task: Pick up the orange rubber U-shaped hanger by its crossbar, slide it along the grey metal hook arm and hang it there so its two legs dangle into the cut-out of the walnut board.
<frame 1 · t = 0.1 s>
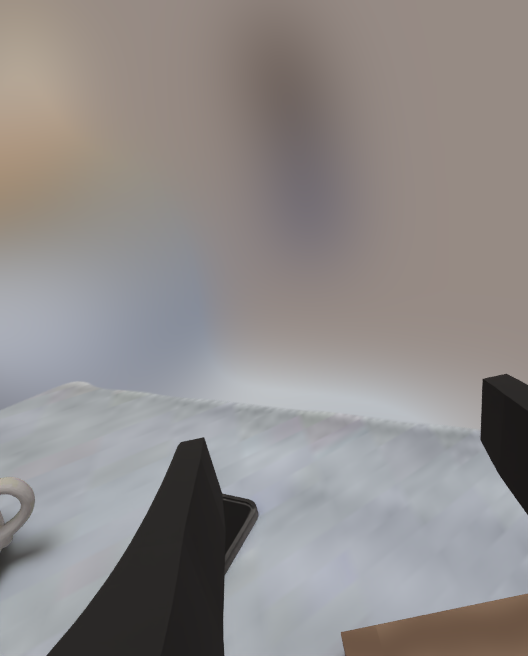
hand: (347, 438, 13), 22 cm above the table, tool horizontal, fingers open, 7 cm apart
phone: (174, 579, 37), on the table
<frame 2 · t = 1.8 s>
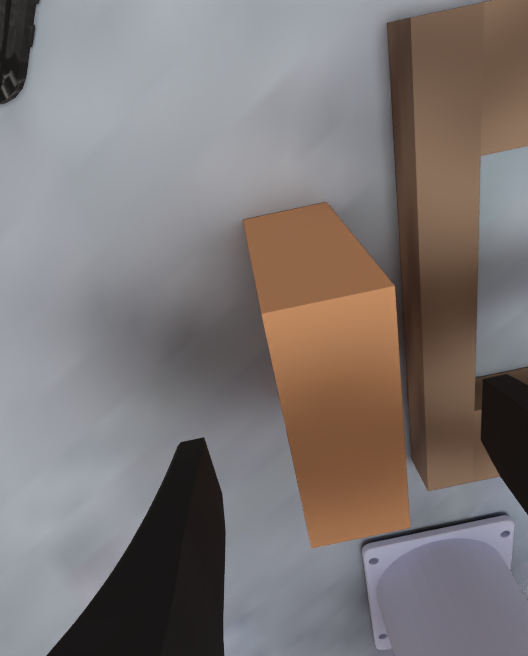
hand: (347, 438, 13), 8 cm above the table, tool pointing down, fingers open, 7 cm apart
hanger: (301, 310, 19), on the table
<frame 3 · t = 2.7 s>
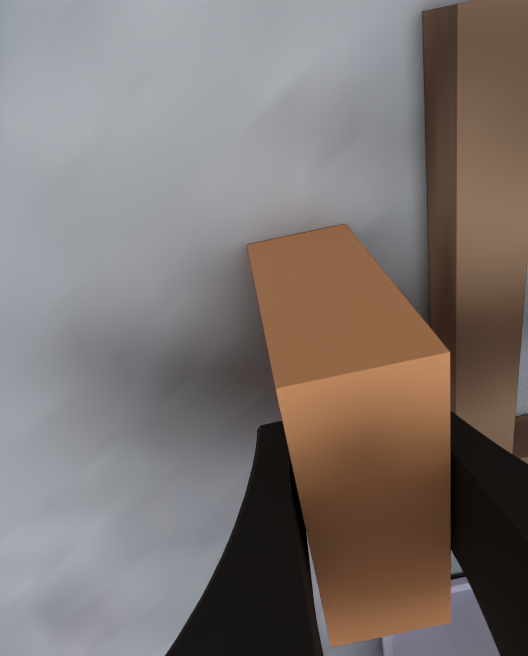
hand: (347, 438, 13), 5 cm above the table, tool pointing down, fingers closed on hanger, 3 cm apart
hanger: (314, 346, 17), on the table, touching gripper
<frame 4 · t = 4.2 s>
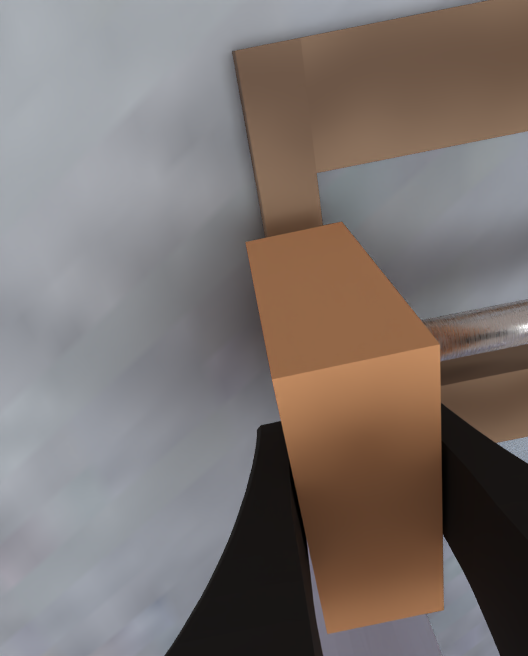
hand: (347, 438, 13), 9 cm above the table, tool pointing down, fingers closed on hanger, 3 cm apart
hanger: (311, 342, 17), point 4 cm above the table, touching gripper
when the fingers open (7 cm above the table, at t = 5.8 s): hanger stays where it is, resting on hook.
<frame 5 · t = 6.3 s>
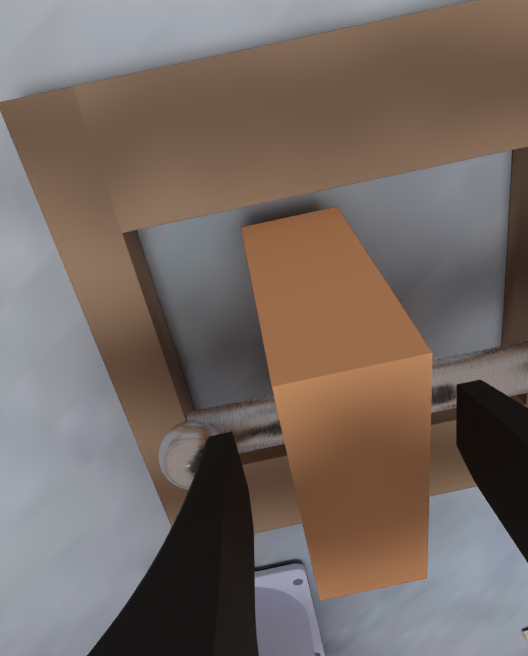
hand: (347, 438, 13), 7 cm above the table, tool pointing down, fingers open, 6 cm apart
hanger: (305, 323, 17), point 2 cm above the table, tilted 6°, touching hook
hook: (433, 348, 15), in the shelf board
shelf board: (403, 292, 19), on the table
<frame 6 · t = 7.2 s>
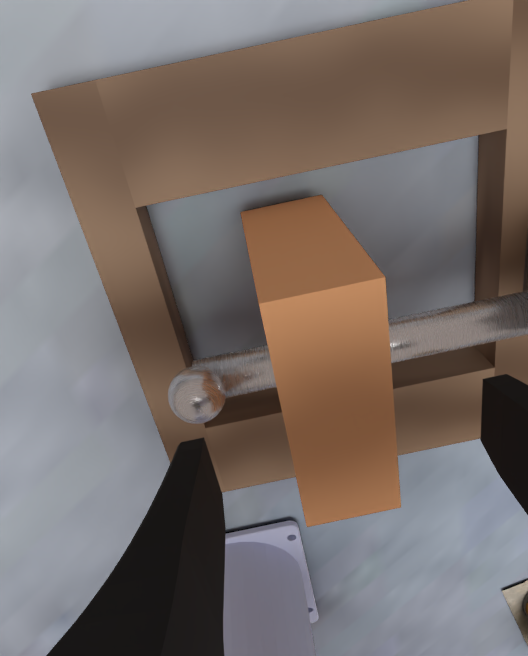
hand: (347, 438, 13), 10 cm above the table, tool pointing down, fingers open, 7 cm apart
hanger: (297, 300, 20), point 1 cm above the table, touching hook
hook: (406, 309, 18), in the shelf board
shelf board: (384, 265, 21), on the table
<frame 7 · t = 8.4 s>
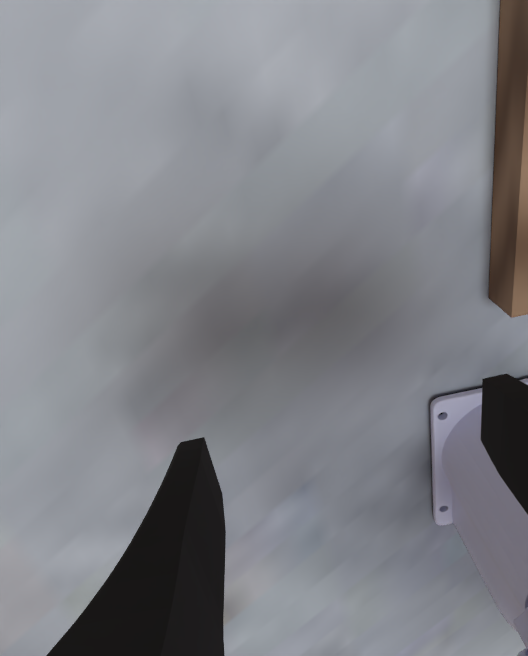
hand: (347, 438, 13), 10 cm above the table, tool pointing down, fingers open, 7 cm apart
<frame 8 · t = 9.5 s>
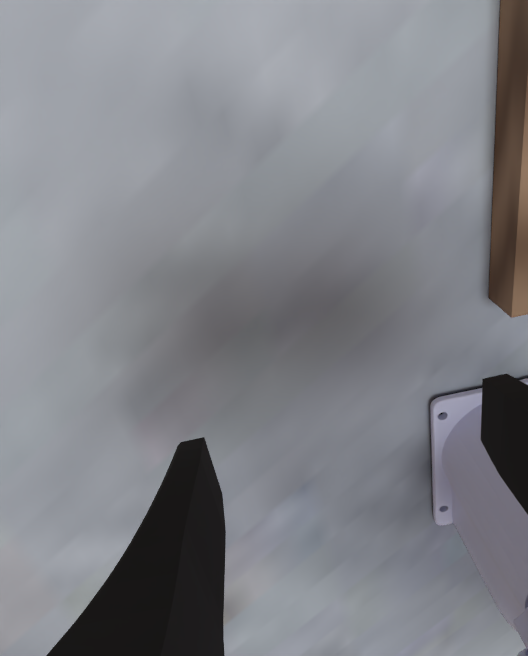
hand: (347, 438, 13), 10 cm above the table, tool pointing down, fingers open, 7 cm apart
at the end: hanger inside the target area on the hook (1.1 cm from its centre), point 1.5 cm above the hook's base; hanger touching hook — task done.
